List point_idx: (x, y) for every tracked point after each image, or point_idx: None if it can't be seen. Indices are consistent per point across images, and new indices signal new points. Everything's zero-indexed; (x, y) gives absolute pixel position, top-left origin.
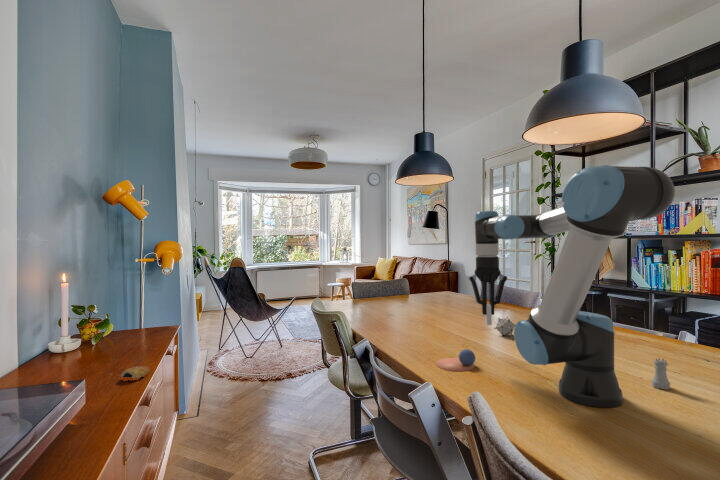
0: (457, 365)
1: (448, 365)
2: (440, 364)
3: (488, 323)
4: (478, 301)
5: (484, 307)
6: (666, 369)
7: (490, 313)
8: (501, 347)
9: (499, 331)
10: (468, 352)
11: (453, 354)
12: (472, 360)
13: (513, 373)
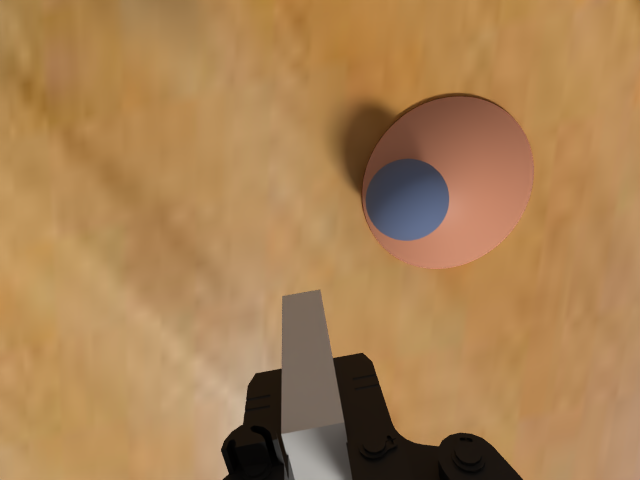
0: (441, 171)
1: (482, 162)
2: (517, 167)
3: (309, 297)
4: (490, 462)
5: (368, 416)
6: None
7: (291, 360)
8: None
9: None
10: (410, 185)
11: (442, 316)
12: (381, 170)
13: (188, 129)
